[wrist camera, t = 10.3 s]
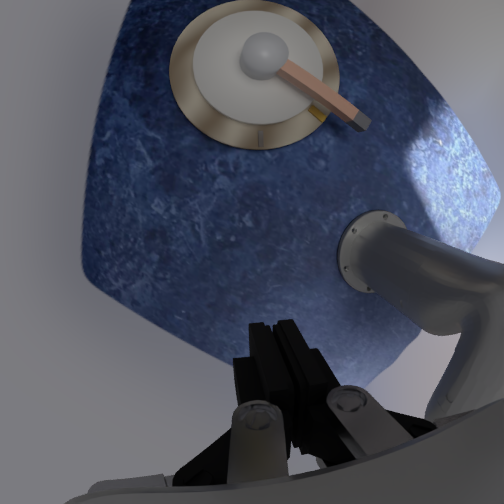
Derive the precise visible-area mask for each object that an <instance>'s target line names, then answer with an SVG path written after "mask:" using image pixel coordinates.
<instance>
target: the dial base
mask: <svg viewBox="0 0 504 504" xmlns="http://www.w3.org/2000/svg"><path fill="white" fill-rule="evenodd" d="M243 11H265V12H271V13H275V14H278V15H281V16H283V17H286V18H288V19H289V20H291V21H293V22H295V23H296V24H297V25H299V26H300V27H301V28H302V29H304V30H305V31H306V32H307V33H308V35H309V36H310V37H311V38H312V40H313V41H314V42H315V44H316V46H317V48H318V50H319V53H320V55H321V59H322V63H323V78H322V82H323V83H324V84H326V85H327V86H328V87H330V88H331V89H332V90H334V91H335V92H336V93H338V89H339V69H338V64H337V60H336V57H335V54H334V52H333V49H332V47H331V45H330V44H329V42H328V40H327V39H326V37H325V36H324V35H323V33H322V32H321V31H320V30H319V29H318V28H317V27H316V26H315V25H314V24H313V23H312V22H311V21H310V20H308V19H307V18H306V17H304V16H303V15H301V14H300V13H298V12H296V11H294V10H292V9H290V8H288V7H285V6H283V5H280V4H276V3H273V2H268V1H261V0H239V1H233V2H228V3H225V4H221V5H218V6H216V7H214V8H211V9H209V10H207V11H206V12H204V13H202V14H201V15H199V16H198V17H197V18H195V19H194V20H193V21H192V22H191V23H190V24H189V25H188V26H187V27H186V28H185V29H184V30H183V32H182V33H181V35H180V36H179V38H178V40H177V42H176V44H175V46H174V48H173V51H172V55H171V59H170V66H169V77H170V83H171V88H172V91H173V94H174V97H175V99H176V101H177V103H178V105H179V107H180V109H181V110H182V112H183V113H184V115H185V116H186V118H187V119H188V120H189V121H190V122H191V123H192V124H193V125H194V126H195V127H196V128H198V129H199V130H200V131H201V132H202V133H204V134H206V135H207V136H209V137H210V138H212V139H214V140H216V141H218V142H220V143H223V144H226V145H229V146H232V147H236V148H241V149H250V150H267V149H273V148H278V147H282V146H285V145H289V144H292V143H294V142H296V141H299V140H301V139H302V138H304V137H306V136H307V135H309V134H311V133H312V132H313V131H314V130H316V129H317V128H318V127H319V126H320V125H321V124H322V123H323V122H324V121H325V119H326V118H327V116H328V115H329V113H330V112H331V111H330V110H329V109H327V108H326V107H325V106H323V105H322V104H321V103H319V102H318V101H316V100H315V99H314V100H313V101H312V102H311V104H310V105H309V106H308V107H307V108H306V109H304V110H303V111H302V112H300V113H299V114H297V115H295V116H294V117H292V118H290V119H288V120H285V121H283V122H280V123H276V124H270V125H250V124H245V123H240V122H237V121H234V120H232V119H229V118H227V117H226V116H224V115H222V114H220V113H219V112H217V111H216V110H215V109H214V108H213V107H211V106H210V105H209V104H208V102H207V101H206V100H205V99H204V98H203V96H202V95H201V93H200V91H199V89H198V87H197V85H196V81H195V78H194V71H193V56H194V51H195V48H196V45H197V43H198V41H199V39H200V38H201V36H202V35H203V34H204V32H205V31H206V30H207V29H208V28H209V27H210V26H211V25H213V24H214V23H215V22H217V21H218V20H220V19H222V18H224V17H226V16H228V15H231V14H234V13H237V12H243Z"/></svg>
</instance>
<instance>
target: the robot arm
mask: <svg viewBox="0 0 504 504" xmlns="http://www.w3.org/2000/svg"><path fill="white" fill-rule="evenodd" d="M352 229H353V231H352ZM337 260H338V267H339V270H340V273H341V275H342V277H343V278H344V280H345V281H346V282H347V283H348V284H349V285H350V286H351V287H353V288H354V289H356V290H358V291H360V292H364V293H375V292H376V293H377V294H379V295H380V296H381V297H382V298H384V299H385V300H386V301H387V302H389V303H390V304H391V305H393V306H394V307H395V308H396V309H398V310H399V311H400V312H401V313H403V314H404V315H405V316H406V317H408V318H409V319H410V320H411V321H413V322H414V323H415V324H416V325H418V326H419V327H420V328H421V329H423V330H425V331H426V332H428V333H430V334H433V335H438V336H445V335H453V334H457V333H460V332H461V336H460V339H459V341H458V344H457V346H456V348H455V352H454V354H453V356H452V358H451V360H450V362H449V364H448V367H447V368H446V370H445V372H444V374H443V376H442V378H441V380H440V382H439V384H438V385H437V387H436V389H435V391H434V393H433V395H432V397H431V399H430V401H429V403H428V405H427V408H426V411H425V419H421V418H417V417H413V416H409V415H404V414H400V413H396V412H393V411H389V410H385V409H384V408H383V407H382V406H381V405H380V404H379V403H378V402H377V401H376V400H375V399H374V398H373V397H372V396H371V395H370V394H369V393H368V392H367V391H366V390H364V389H363V388H360V387H358V386H352V385H344V386H341V385H340V384H339V382H338V380H337V379H336V377H335V375H334V374H333V372H332V370H331V369H330V367H329V366H328V364H327V362H326V361H325V359H324V357H323V356H322V354H321V353H320V351H319V350H318V349H317V348H314V349H309V347H308V345H307V343H306V342H305V340H304V338H303V336H302V335H301V333H300V331H299V329H298V328H297V326H296V324H295V322H294V321H293V319H288V320H279V321H278V323H277V324H276V325H273V333H272V331H271V328H270V326H269V325H267V326H265V325H264V323H263V322H260V323H250V324H249V348H250V357H242V358H233V368H234V380H235V388H236V395H237V401H238V407H237V408H236V410H235V411H234V413H233V416H232V425H231V428H230V429H229V430H228V431H227V432H226V433H225V434H223V435H222V436H221V437H220V438H219V439H217V440H216V441H215V442H214V443H213V444H211V445H210V446H209V447H207V448H206V449H205V450H204V451H202V452H201V453H200V454H199V455H197V456H196V457H195V458H194V459H192V460H191V461H190V462H188V463H187V464H186V465H185V466H183V467H182V468H180V469H179V470H178V471H177V472H176V473H175V475H171V476H165V477H164V475H163V474H158V475H152V476H144V477H137V478H128V479H117V480H105V481H100V482H97V483H96V484H94V485H92V486H91V488H90V489H89V490H88V494H85V495H81V496H78V497H75V498H73V499H71V500H69V501H67V502H66V503H65V504H504V264H502V263H499V262H495V261H491V260H488V259H484V258H482V257H479V256H476V255H473V254H470V253H468V252H465V251H463V250H460V249H458V248H455V247H452V246H450V245H447V244H445V243H442V242H439V241H437V240H434V239H432V238H429V237H426V236H424V235H421V234H418V233H415V232H413V231H410V230H407V228H406V226H405V224H404V223H403V222H402V220H401V219H400V218H398V217H397V216H396V215H394V214H392V213H390V212H387V211H383V210H371V211H368V212H365V213H363V214H361V215H360V216H358V217H357V218H356V219H354V220H353V221H352V222H351V223H350V224H349V226H348V227H347V228H346V230H345V232H344V233H343V235H342V238H341V240H340V243H339V247H338V257H337ZM344 267H345V268H344ZM291 441H292V444H293V447H294V448H297V447H299V449H300V452H301V455H304V454H311V455H313V456H315V457H316V461H317V464H318V466H319V467H320V469H319V470H315V471H310V472H305V473H301V474H296V475H291V476H289V474H288V464H287V460H288V459H289V458H290V448H291Z"/></svg>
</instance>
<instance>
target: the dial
mask: <svg viewBox="0 0 504 504" xmlns="http://www.w3.org/2000/svg"><path fill="white" fill-rule="evenodd" d="M193 71H194V78H195V81H196V85H197V87H198V89H199V91H200V93H201V95H202V96H203V98H204V99H205V100H206V101H207V102H208V104H209V105H210V106H211V107H213V108H214V109H215V110H216V111H217V112H219V113H220V114H222V115H224V116H226V117H227V118H229V119H232V120H234V121H237V122H240V123H245V124H250V125H270V124H276V123H280V122H283V121H285V120H288V119H290V118H292V117H294V116H295V115H297V114H299V113H300V112H302V111H303V110H304V109H306V108H307V107H308V106H309V105H310V104H311V102H312V101H313V100H314V99H315V100H316V101H318V102H319V103H321V104H322V105H323V106H325V107H326V108H327V109H329V110H330V111H331V112H333V113H334V114H335V115H337V116H338V117H339V118H341V119H342V120H343V121H344V122H346V123H347V124H348V125H349V126H351V127H352V128H353V129H354V130H356V131H357V132H362V131H366V129H367V128H368V126H369V124H370V122H371V120H370V119H369V118H368V117H367V116H366V115H364V114H363V113H362V112H361V111H360V110H358V109H357V108H356V107H354V106H353V105H352V104H351V103H349V102H348V101H347V100H346V99H344V98H343V97H342V96H340V95H339V94H338V93H336V92H335V91H334V90H332V89H331V88H330V87H328V86H327V85H326V84H324V83H323V82H322V78H323V63H322V59H321V55H320V53H319V50H318V48H317V46H316V44H315V42H314V41H313V40H312V38H311V37H310V36H309V35H308V33H307V32H306V31H305V30H304V29H302V28H301V27H300V26H299V25H297V24H296V23H295V22H293V21H291V20H289V19H288V18H286V17H283V16H281V15H278V14H275V13H271V12H265V11H243V12H237V13H234V14H231V15H228V16H226V17H224V18H222V19H220V20H218V21H217V22H215V23H214V24H213V25H211V26H210V27H209V28H208V29H207V30H206V31H205V32H204V34H203V35H202V36H201V38H200V39H199V41H198V43H197V45H196V48H195V51H194V56H193Z"/></svg>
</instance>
